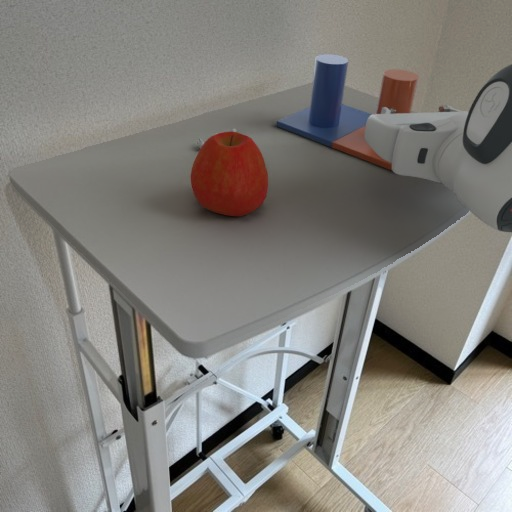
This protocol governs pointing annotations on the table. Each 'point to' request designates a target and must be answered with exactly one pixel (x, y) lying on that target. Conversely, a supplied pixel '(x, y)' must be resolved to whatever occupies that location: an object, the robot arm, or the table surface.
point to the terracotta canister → (397, 90)
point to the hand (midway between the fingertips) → (414, 110)
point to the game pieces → (200, 142)
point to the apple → (229, 175)
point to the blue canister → (327, 90)
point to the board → (337, 133)
